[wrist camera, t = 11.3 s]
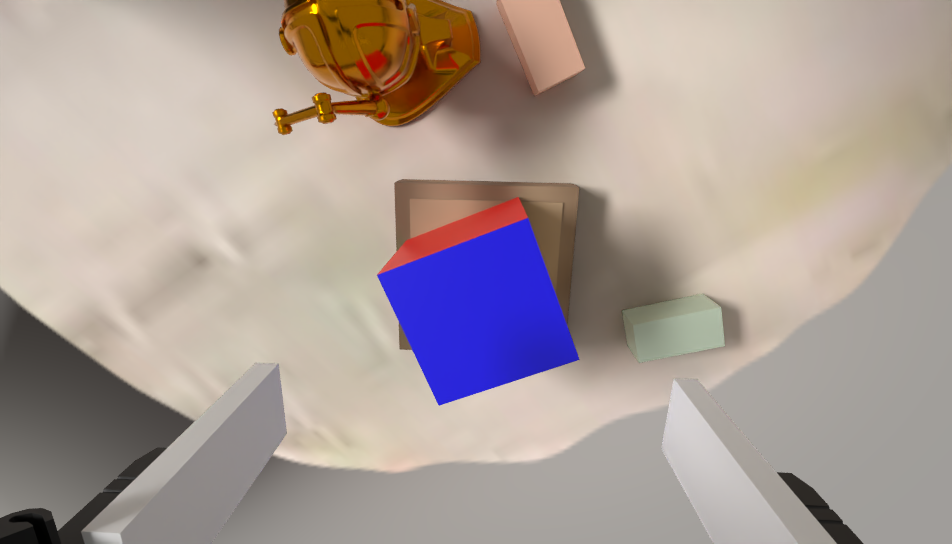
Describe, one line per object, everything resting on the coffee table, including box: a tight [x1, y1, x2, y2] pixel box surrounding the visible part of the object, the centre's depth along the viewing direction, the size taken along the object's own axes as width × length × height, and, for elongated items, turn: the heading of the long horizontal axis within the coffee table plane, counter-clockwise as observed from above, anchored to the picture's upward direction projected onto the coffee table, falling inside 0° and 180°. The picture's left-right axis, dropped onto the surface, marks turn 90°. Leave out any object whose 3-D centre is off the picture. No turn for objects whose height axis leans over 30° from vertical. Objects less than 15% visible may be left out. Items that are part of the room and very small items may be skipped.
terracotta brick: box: [497, 0, 585, 96], centre depth 27 cm, size 6×3×3 cm, turn 25°
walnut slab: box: [395, 179, 579, 350], centre depth 32 cm, size 12×12×3 cm
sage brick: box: [622, 294, 725, 363], centre depth 32 cm, size 6×3×3 cm, turn 104°
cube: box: [377, 197, 579, 405], centre depth 26 cm, size 8×8×8 cm
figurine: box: [273, 0, 481, 135], centre depth 23 cm, size 8×11×12 cm
